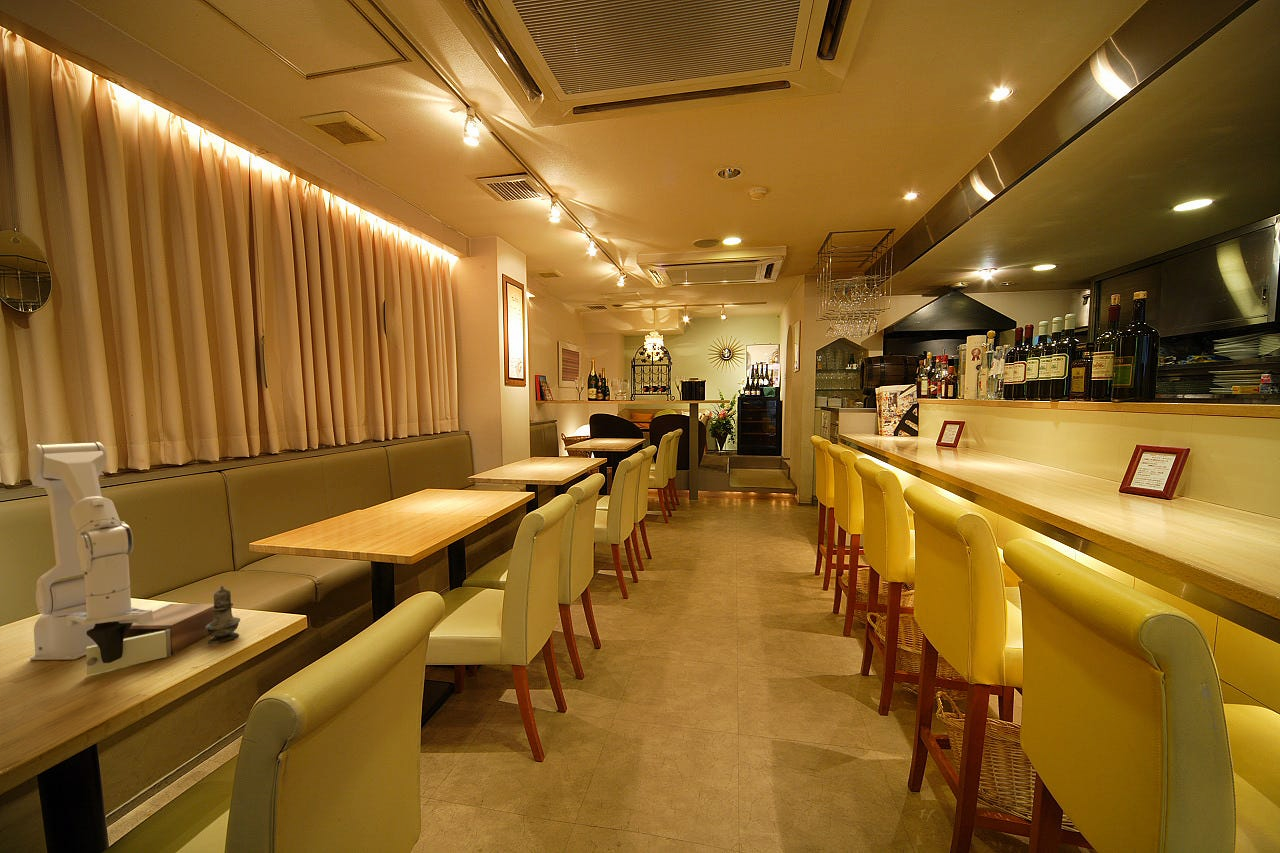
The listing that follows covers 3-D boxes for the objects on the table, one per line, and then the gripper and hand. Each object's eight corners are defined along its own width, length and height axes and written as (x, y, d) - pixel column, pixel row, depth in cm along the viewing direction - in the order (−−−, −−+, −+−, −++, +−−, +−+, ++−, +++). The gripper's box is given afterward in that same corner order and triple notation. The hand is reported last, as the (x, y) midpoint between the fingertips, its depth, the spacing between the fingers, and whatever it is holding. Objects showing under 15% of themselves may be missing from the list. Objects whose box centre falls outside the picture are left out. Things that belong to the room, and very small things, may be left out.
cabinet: (119, 655, 99) (118, 625, 99) (172, 630, 110) (170, 603, 110) (172, 655, 99) (171, 625, 99) (219, 630, 110) (218, 603, 110)
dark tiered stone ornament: (220, 646, 102) (218, 591, 102) (198, 644, 103) (196, 589, 103) (247, 634, 108) (246, 582, 108) (226, 631, 109) (225, 580, 109)
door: (86, 678, 90) (84, 649, 90) (88, 674, 91) (87, 646, 91) (170, 658, 97) (169, 631, 97) (171, 655, 98) (170, 628, 98)
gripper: (44, 599, 87) (48, 672, 87) (123, 597, 87) (127, 670, 87) (88, 585, 94) (92, 653, 94) (162, 583, 94) (165, 651, 94)
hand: (112, 660), depth 91 cm, fingers closed, pressing on door
